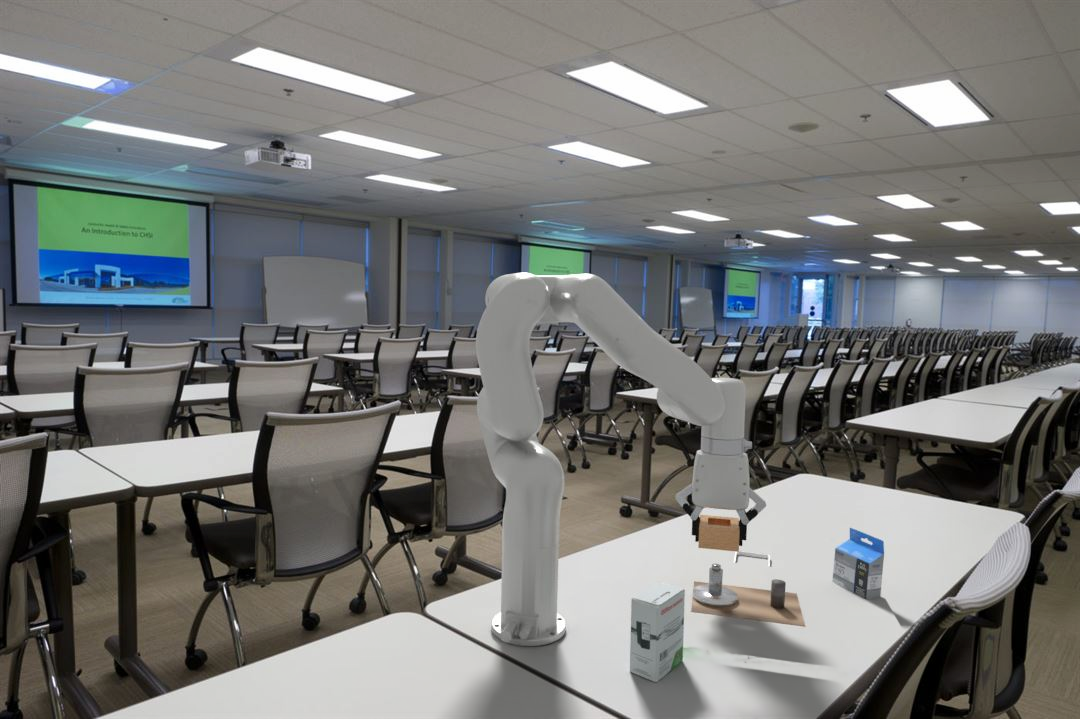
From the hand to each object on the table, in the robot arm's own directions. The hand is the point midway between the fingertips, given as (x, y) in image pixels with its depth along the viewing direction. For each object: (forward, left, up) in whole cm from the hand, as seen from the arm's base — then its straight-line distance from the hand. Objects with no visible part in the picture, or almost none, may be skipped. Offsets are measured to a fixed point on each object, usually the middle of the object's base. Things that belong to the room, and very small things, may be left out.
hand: (718, 540), depth 129 cm
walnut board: (0, -5, -12) cm, 13 cm away
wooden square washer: (0, 0, 0) cm, 0 cm away
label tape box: (+13, -26, -13) cm, 32 cm away
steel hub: (0, 0, -11) cm, 11 cm away
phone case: (+22, -7, -13) cm, 27 cm away
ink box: (-25, +9, -13) cm, 29 cm away
